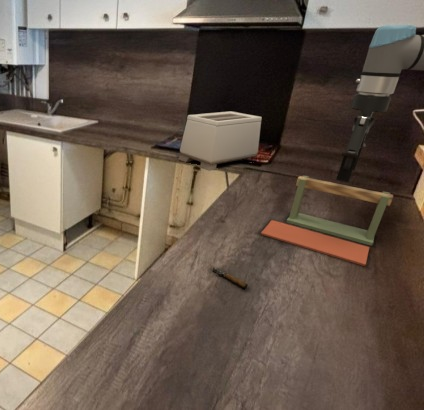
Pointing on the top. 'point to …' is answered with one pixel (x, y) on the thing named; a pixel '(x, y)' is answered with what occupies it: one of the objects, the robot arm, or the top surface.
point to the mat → (317, 242)
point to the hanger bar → (344, 190)
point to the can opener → (231, 278)
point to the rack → (334, 227)
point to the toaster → (220, 138)
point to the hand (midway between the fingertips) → (345, 174)
